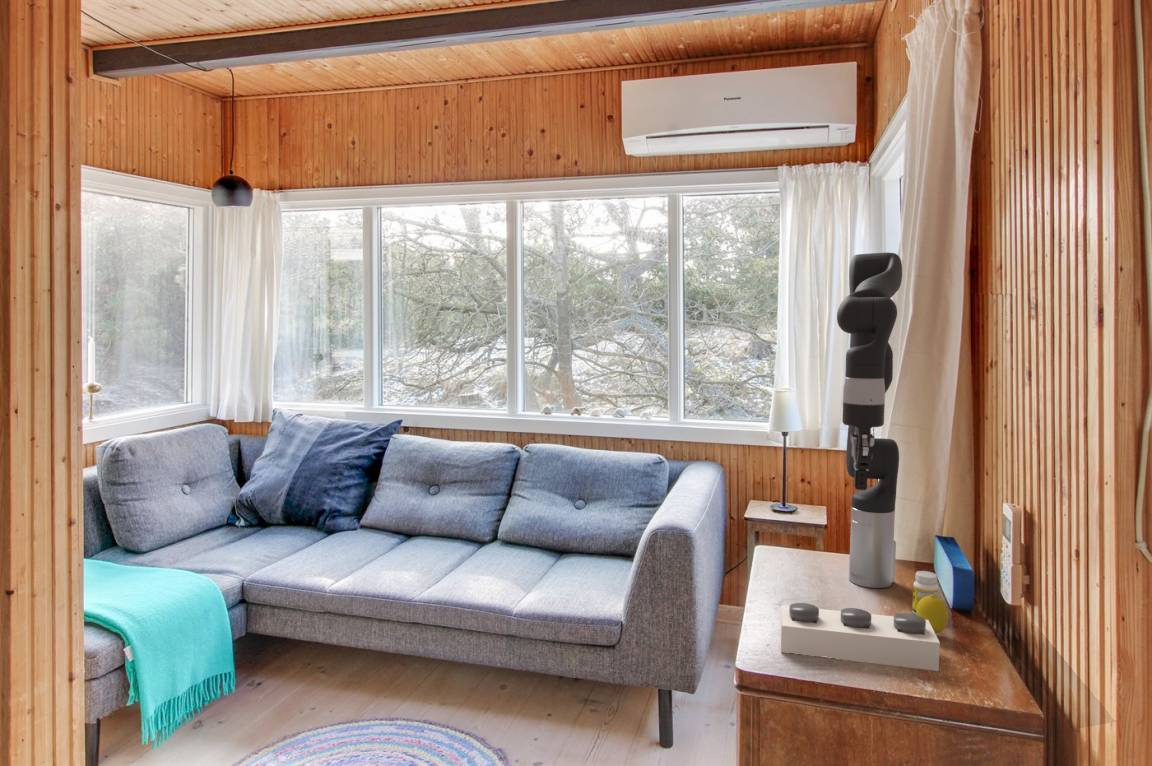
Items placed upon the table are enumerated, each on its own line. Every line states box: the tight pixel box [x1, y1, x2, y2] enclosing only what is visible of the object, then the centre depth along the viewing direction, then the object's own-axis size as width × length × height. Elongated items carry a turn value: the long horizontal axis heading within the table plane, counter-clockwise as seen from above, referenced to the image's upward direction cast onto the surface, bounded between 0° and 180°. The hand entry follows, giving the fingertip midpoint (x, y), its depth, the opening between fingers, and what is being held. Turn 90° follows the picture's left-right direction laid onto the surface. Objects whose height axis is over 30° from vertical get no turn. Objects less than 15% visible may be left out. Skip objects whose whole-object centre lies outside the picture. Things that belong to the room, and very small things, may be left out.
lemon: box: [916, 595, 949, 635], centre depth 139 cm, size 6×6×8 cm
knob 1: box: [789, 602, 820, 623], centre depth 135 cm, size 5×5×6 cm
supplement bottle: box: [912, 570, 940, 615], centre depth 149 cm, size 5×5×8 cm
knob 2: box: [893, 612, 926, 634], centre depth 130 cm, size 5×5×6 cm
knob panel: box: [780, 604, 941, 672], centre depth 133 cm, size 26×10×5 cm, turn 75°
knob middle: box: [840, 607, 872, 629], centre depth 133 cm, size 5×5×6 cm
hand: (860, 488), depth 143 cm, fingers closed
